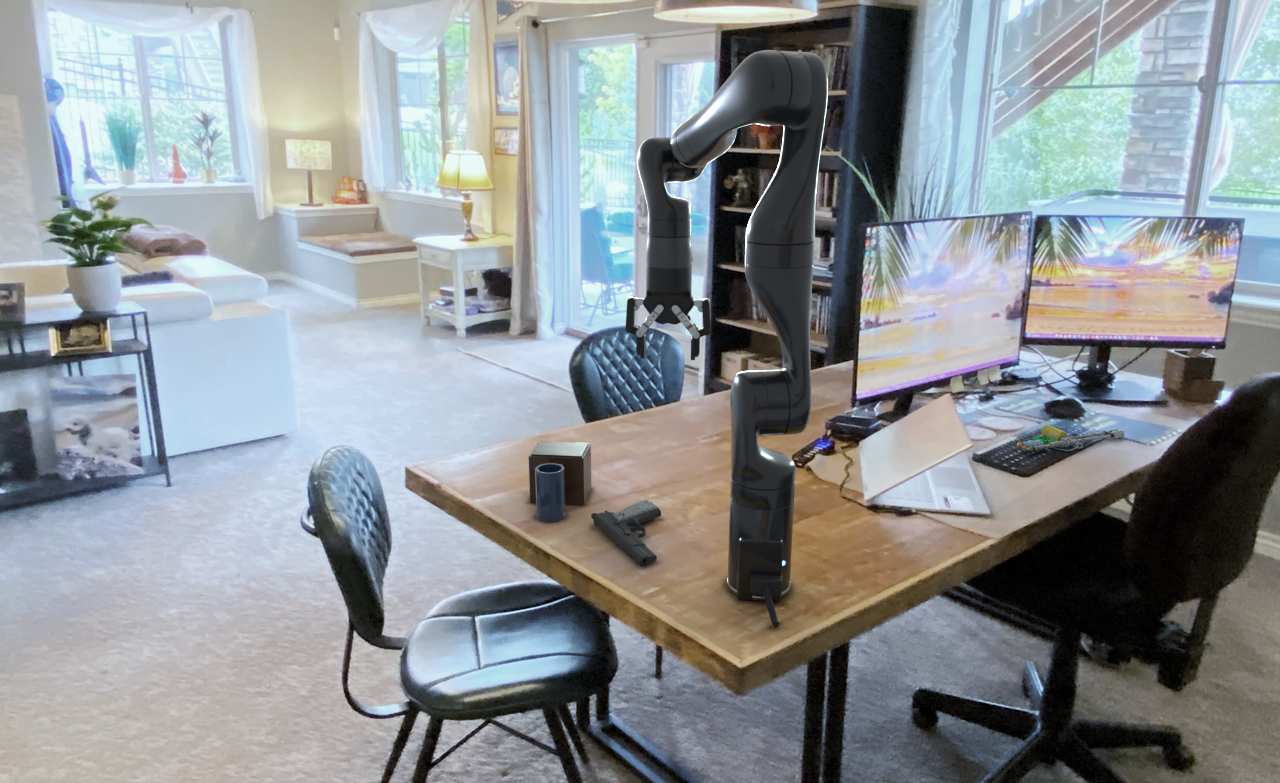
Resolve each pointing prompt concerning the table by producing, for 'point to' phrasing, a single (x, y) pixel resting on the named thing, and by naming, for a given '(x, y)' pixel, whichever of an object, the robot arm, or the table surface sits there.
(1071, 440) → the flamethrower
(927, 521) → the table surface
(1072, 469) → the table surface
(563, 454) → the dark brown box
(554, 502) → the pen cup
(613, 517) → the handgun
